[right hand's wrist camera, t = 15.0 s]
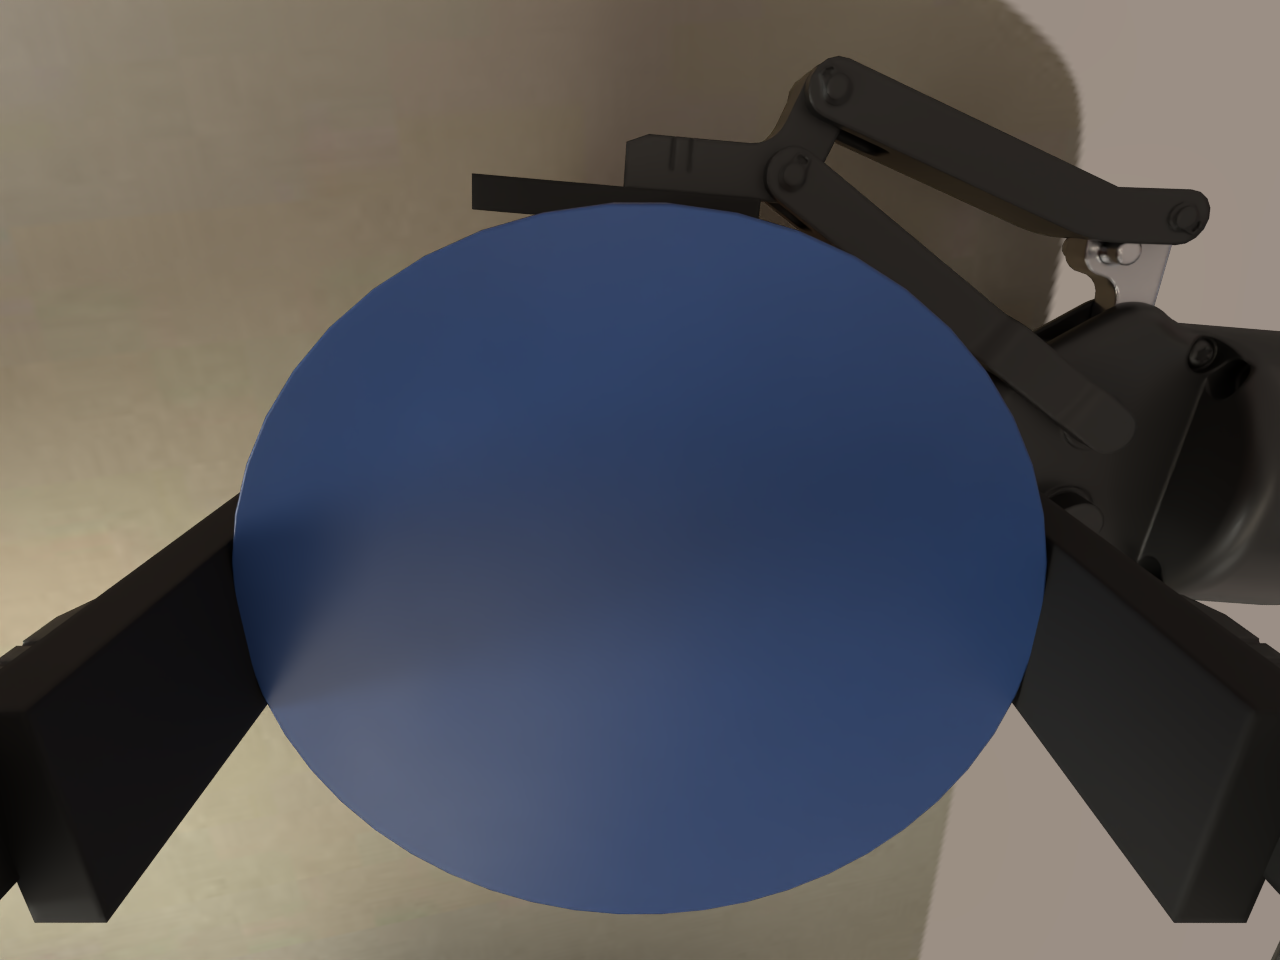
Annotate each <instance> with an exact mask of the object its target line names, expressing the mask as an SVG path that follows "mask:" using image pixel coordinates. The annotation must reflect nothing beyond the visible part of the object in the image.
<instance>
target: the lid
mask: <svg viewBox="0 0 1280 960" xmlns="http://www.w3.org/2000/svg"><path fill="white" fill-rule="evenodd" d="M232 569H233V581H234V588H235V593H236V598H237V603H238V607H239V611H240V615H241V620H242V624H243V628H244V632H245V636H246V641H247V645H248V649H249V653H250V658H251V662H252V666H253V669H254V673H255V676H256V679H257V682H258V684H259V687H260V689H261V692H262V694H263V696H264V698H265V700H266V702H267V703H268V705H269V707H270V709H271V711H272V712H273V714H274V716H275V718H276V720H277V721H278V723H279V725H280V727H281V729H282V730H283V732H284V734H285V735H286V737H287V738H288V739H289V741H290V742H291V743H292V745H293V746H294V747H295V749H296V750H297V751H298V753H299V754H300V756H301V757H302V758H303V760H304V761H305V762H306V764H307V765H308V766H309V768H310V769H311V770H312V771H313V772H314V773H315V774H316V775H317V777H318V778H319V779H320V780H321V781H322V782H323V783H324V784H325V785H326V786H327V787H328V788H329V789H330V790H331V791H332V792H333V793H334V794H335V795H336V796H337V798H338V799H339V800H340V801H341V802H342V803H344V804H345V805H346V806H347V807H348V808H350V809H351V810H352V811H353V812H354V813H356V814H357V815H358V816H359V817H360V818H362V819H363V820H364V821H365V822H366V823H368V824H369V825H370V826H371V827H372V828H374V829H375V830H376V831H378V832H379V833H381V834H382V835H384V836H385V837H387V838H388V839H390V840H391V841H393V842H394V843H396V844H397V845H399V846H400V847H402V848H403V849H405V850H406V851H408V852H409V853H411V854H413V855H415V856H417V857H419V858H421V859H422V860H424V861H426V862H428V863H430V864H432V865H434V866H436V867H438V868H440V869H442V870H444V871H445V872H447V873H449V874H452V875H454V876H457V877H459V878H462V879H464V880H467V881H469V882H472V883H474V884H477V885H479V886H482V887H484V888H487V889H489V890H492V891H496V892H499V893H503V894H506V895H510V896H513V897H517V898H520V899H523V900H527V901H530V902H535V903H540V904H545V905H551V906H556V907H561V908H567V909H572V910H580V911H591V912H601V913H612V914H667V913H677V912H688V911H699V910H707V909H712V908H717V907H723V906H728V905H733V904H738V903H744V902H748V901H752V900H755V899H759V898H762V897H766V896H769V895H772V894H776V893H779V892H783V891H786V890H789V889H792V888H794V887H797V886H799V885H802V884H804V883H807V882H809V881H812V880H814V879H817V878H819V877H822V876H824V875H827V874H829V873H831V872H833V871H835V870H837V869H839V868H841V867H843V866H845V865H847V864H849V863H850V862H852V861H854V860H856V859H858V858H860V857H862V856H864V855H866V854H868V853H869V852H871V851H872V850H874V849H875V848H877V847H878V846H880V845H881V844H883V843H884V842H886V841H887V840H889V839H890V838H892V837H893V836H895V835H896V834H898V833H899V832H901V831H902V830H904V829H905V828H906V827H907V826H909V825H910V824H911V823H912V822H913V821H915V820H916V819H917V818H918V817H919V816H921V815H922V814H923V813H924V812H925V811H927V810H928V809H929V808H930V807H931V806H933V805H934V804H935V803H936V802H937V801H938V800H939V799H940V798H941V797H942V796H943V795H944V794H945V793H946V792H947V791H948V790H949V789H950V788H951V787H952V786H953V785H954V784H955V783H956V781H957V780H958V779H959V778H960V777H961V776H962V775H963V774H964V773H965V772H966V771H967V770H968V769H969V767H970V766H971V765H972V763H973V762H974V761H975V759H976V758H977V757H978V755H979V754H980V752H981V751H982V750H983V748H984V747H985V746H986V744H987V743H988V742H989V740H990V739H991V738H992V736H993V735H994V733H995V732H996V730H997V728H998V726H999V724H1000V723H1001V721H1002V719H1003V717H1004V716H1005V714H1006V712H1007V710H1008V708H1009V707H1010V705H1011V703H1012V701H1013V700H1014V698H1015V696H1016V694H1017V691H1018V689H1019V686H1020V684H1021V681H1022V679H1023V676H1024V673H1025V671H1026V668H1027V665H1028V662H1029V658H1030V654H1031V650H1032V646H1033V642H1034V637H1035V633H1036V629H1037V625H1038V620H1039V616H1040V612H1041V608H1042V603H1043V598H1044V592H1045V581H1046V569H1047V553H1046V539H1045V524H1044V512H1043V508H1042V504H1041V499H1040V495H1039V490H1038V486H1037V482H1036V477H1035V473H1034V468H1033V464H1032V462H1031V459H1030V457H1029V454H1028V452H1027V449H1026V447H1025V444H1024V442H1023V439H1022V437H1021V434H1020V432H1019V429H1018V427H1017V424H1016V422H1015V419H1014V417H1013V415H1012V413H1011V412H1010V410H1009V408H1008V407H1007V405H1006V403H1005V402H1004V400H1003V398H1002V397H1001V395H1000V393H999V392H998V390H997V388H996V387H995V385H994V383H993V382H992V380H991V378H990V377H989V375H988V373H987V372H986V370H985V369H984V368H983V367H982V365H981V364H980V363H979V362H978V361H977V359H976V358H975V357H974V356H973V355H972V353H971V352H970V351H969V350H968V349H967V347H966V346H965V345H964V344H963V343H962V341H961V340H960V339H959V338H958V337H957V335H956V334H955V333H954V332H953V331H952V329H951V328H950V327H949V326H948V325H946V324H945V323H944V322H943V321H942V320H941V319H940V318H939V317H937V316H936V315H935V314H934V313H933V312H932V311H931V310H929V309H928V308H927V307H926V306H925V305H924V304H923V303H922V302H920V301H919V300H918V299H917V298H916V297H915V296H914V295H912V294H911V293H910V292H909V291H908V290H907V289H905V288H904V287H902V286H901V285H899V284H898V283H896V282H894V281H893V280H891V279H890V278H888V277H887V276H885V275H884V274H882V273H881V272H879V271H877V270H876V269H874V268H873V267H871V266H870V265H868V264H867V263H865V262H864V261H862V260H860V259H859V258H857V257H856V256H854V255H851V254H849V253H847V252H845V251H843V250H840V249H838V248H836V247H834V246H832V245H829V244H827V243H825V242H823V241H821V240H818V239H816V238H814V237H812V236H810V235H807V234H805V233H803V232H801V231H798V230H795V229H792V228H788V227H785V226H781V225H778V224H774V223H771V222H768V221H764V220H761V219H757V218H754V217H750V216H747V215H743V214H740V213H736V212H729V211H722V210H715V209H708V208H701V207H694V206H687V205H680V204H673V203H644V202H614V203H607V204H599V205H592V206H585V207H578V208H571V209H564V210H557V211H550V212H543V213H540V214H536V215H533V216H529V217H526V218H522V219H519V220H515V221H512V222H508V223H505V224H501V225H498V226H494V227H491V228H488V229H484V230H481V231H479V232H476V233H474V234H472V235H470V236H468V237H465V238H463V239H461V240H459V241H457V242H454V243H452V244H450V245H448V246H445V247H443V248H441V249H439V250H437V251H434V252H432V253H430V254H428V255H426V256H424V257H422V258H421V259H419V260H417V261H416V262H414V263H413V264H411V265H410V266H408V267H407V268H405V269H403V270H402V271H400V272H399V273H397V274H396V275H394V276H393V277H391V278H389V279H388V280H386V281H385V282H383V283H382V284H380V285H378V286H377V287H375V288H374V289H373V290H371V291H370V292H369V293H368V294H367V295H366V296H365V297H363V298H362V299H361V300H360V301H359V302H358V303H357V304H355V305H354V306H353V307H352V308H351V309H350V310H349V311H348V312H346V313H345V314H344V315H343V316H342V317H341V318H340V319H338V320H337V321H336V322H335V323H334V324H333V325H332V326H330V327H329V328H328V330H327V331H326V332H325V333H324V334H323V336H322V337H321V338H320V339H319V340H318V342H317V343H316V344H315V345H314V346H313V348H312V349H311V350H310V351H309V352H308V354H307V355H306V356H305V357H304V358H303V360H302V361H301V362H300V363H299V364H298V366H297V367H296V368H295V369H294V370H293V372H292V374H291V375H290V377H289V379H288V380H287V382H286V384H285V385H284V387H283V389H282V390H281V392H280V394H279V395H278V397H277V399H276V400H275V402H274V404H273V405H272V407H271V409H270V410H269V412H268V414H267V415H266V417H265V420H264V422H263V425H262V427H261V430H260V432H259V435H258V437H257V439H256V442H255V444H254V447H253V449H252V452H251V454H250V457H249V459H248V462H247V464H246V469H245V473H244V477H243V482H242V486H241V491H240V495H239V499H238V504H237V508H236V512H235V524H234V538H233V553H232Z"/></svg>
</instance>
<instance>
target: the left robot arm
mask: <svg viewBox="0 0 1280 960" xmlns="http://www.w3.org/2000/svg"><path fill="white" fill-rule="evenodd" d="M834 142H835V143H837V144H839V145H841V146H844V147H846V148H848V149H850V150H852V151H855V152H857V153H859V154H861V155H863V156H865V157H868V158H870V159H872V160H874V161H876V162H879V163H881V164H883V165H885V166H887V167H889V168H892V169H894V170H896V171H898V172H900V173H902V174H905V175H907V176H909V177H911V178H913V179H916V180H918V181H920V182H922V183H924V184H926V185H929V186H931V187H933V188H935V189H937V190H940V191H942V192H944V193H946V194H948V195H950V196H953V197H955V198H957V199H959V200H961V201H963V202H966V203H968V204H970V205H972V206H974V207H977V208H979V209H981V210H983V211H985V212H987V213H990V214H992V215H994V216H996V217H998V218H1000V219H1003V220H1005V221H1007V222H1009V223H1011V224H1014V225H1016V226H1018V227H1020V228H1023V229H1026V230H1028V231H1031V232H1034V233H1038V234H1042V235H1047V236H1051V237H1061V238H1067V239H1066V240H1065V241H1064V243H1063V245H1062V252H1063V254H1064V255H1065V257H1066V261H1067V263H1068V265H1069V266H1070V267H1071V268H1072V269H1073V270H1075V271H1078V272H1081V273H1084V274H1086V275H1088V276H1089V277H1090V278H1091V279H1092V281H1093V282H1094V284H1095V290H1096V292H1095V299H1093V300H1090V301H1087V302H1085V303H1083V304H1081V305H1079V306H1078V307H1076V308H1074V309H1072V310H1070V311H1068V312H1067V313H1065V314H1063V315H1061V316H1059V317H1057V318H1056V319H1054V320H1052V321H1050V322H1048V323H1046V324H1045V325H1043V326H1041V327H1039V328H1037V329H1035V330H1034V331H1031V330H1030V329H1029V328H1027V327H1026V326H1024V325H1023V324H1021V323H1020V322H1018V321H1017V320H1015V319H1013V318H1011V317H1010V316H1008V315H1007V314H1005V313H1004V312H1002V311H1001V310H1000V309H999V308H997V307H996V306H995V305H994V304H993V303H991V302H990V301H989V300H988V299H987V298H985V297H984V296H983V295H982V294H981V293H979V292H978V291H977V290H976V289H975V288H974V287H972V286H971V285H970V284H969V283H968V282H966V281H965V280H964V279H963V278H962V277H960V276H959V275H958V274H957V273H956V272H954V271H953V270H952V269H951V268H950V267H948V266H947V265H946V264H945V263H944V262H942V261H941V260H940V259H939V258H938V257H936V256H935V255H934V254H933V253H932V252H930V251H929V250H928V249H927V248H926V247H924V246H923V245H922V244H921V243H920V242H918V241H917V240H916V239H915V238H914V237H912V236H911V235H910V234H909V233H908V232H906V231H905V230H904V229H903V228H902V227H900V226H899V225H898V224H897V223H896V222H895V221H893V220H892V219H891V218H890V217H889V216H887V215H886V214H885V213H884V212H883V211H881V210H880V209H879V208H878V207H877V206H875V205H874V204H873V203H872V202H871V201H869V200H868V199H867V198H866V197H865V196H863V195H862V194H861V193H860V192H859V191H857V190H856V189H855V188H854V187H853V186H851V185H850V184H849V183H848V182H847V181H845V180H844V179H843V178H842V177H841V176H839V175H838V174H837V173H836V172H835V171H833V170H832V169H831V168H830V167H829V166H827V165H826V164H825V163H824V162H825V160H826V158H827V156H828V154H829V152H830V150H831V148H832V146H833V144H834ZM614 202H644V203H673V204H680V205H687V206H694V207H701V208H708V209H715V210H722V211H729V212H736V213H740V214H743V215H747V216H750V217H754V218H757V219H758V218H759V210H760V203H761V202H765V203H766V204H767V205H769V206H770V207H771V208H772V209H774V210H775V211H776V212H777V213H778V214H780V215H781V216H782V217H783V218H785V219H786V220H787V221H788V222H790V223H791V224H792V225H793V226H795V227H796V228H797V229H798V230H800V231H801V232H803V233H805V234H807V235H810V236H812V237H814V238H816V239H818V240H821V241H823V242H825V243H827V244H829V245H832V246H834V247H836V248H838V249H840V250H843V251H845V252H847V253H849V254H851V255H854V256H856V257H857V258H859V259H860V260H862V261H864V262H865V263H867V264H868V265H870V266H871V267H873V268H874V269H876V270H877V271H879V272H881V273H882V274H884V275H885V276H887V277H888V278H890V279H891V280H893V281H894V282H896V283H898V284H899V285H901V286H902V287H904V288H905V289H907V290H908V291H909V292H910V293H911V294H912V295H914V296H915V297H916V298H917V299H918V300H919V301H920V302H922V303H923V304H924V305H925V306H926V307H927V308H928V309H929V310H931V311H932V312H933V313H934V314H935V315H936V316H937V317H939V318H940V319H941V320H942V321H943V322H944V323H945V324H946V325H948V326H949V327H950V328H951V329H952V331H953V332H954V333H955V334H956V335H957V337H958V338H959V339H960V340H961V341H962V343H963V344H964V345H965V346H966V347H967V349H968V350H969V351H970V352H971V353H972V355H973V356H974V357H975V358H976V359H977V361H978V362H979V363H980V364H981V365H982V367H983V368H984V369H985V370H986V372H987V373H988V375H989V377H990V378H991V380H992V382H993V383H994V385H995V387H996V388H997V390H998V392H999V393H1000V395H1001V397H1002V398H1003V400H1004V402H1005V403H1006V405H1007V407H1008V408H1009V410H1010V412H1011V413H1012V415H1013V417H1014V419H1015V422H1016V424H1017V427H1018V429H1019V432H1020V434H1021V437H1022V439H1023V442H1024V444H1025V447H1026V449H1027V452H1028V454H1029V457H1030V459H1031V462H1032V464H1033V468H1034V473H1035V477H1036V482H1037V486H1038V490H1039V491H1040V492H1041V493H1042V494H1044V495H1045V496H1046V497H1048V498H1049V499H1050V500H1052V501H1053V502H1055V503H1056V504H1057V505H1059V506H1060V507H1061V508H1063V509H1064V510H1065V511H1067V512H1068V513H1070V514H1071V515H1072V516H1074V517H1075V518H1076V519H1078V520H1079V521H1080V522H1082V523H1083V524H1084V525H1086V526H1087V527H1089V528H1090V529H1091V530H1093V531H1094V532H1095V533H1097V534H1098V535H1099V536H1101V537H1102V538H1103V539H1105V540H1106V541H1108V542H1109V543H1110V544H1112V545H1113V546H1114V547H1116V548H1117V549H1118V550H1120V551H1121V552H1123V553H1124V554H1125V555H1127V556H1128V557H1129V558H1131V559H1132V560H1133V561H1135V562H1136V563H1137V564H1139V565H1140V566H1142V567H1143V568H1144V569H1146V570H1147V571H1148V572H1150V573H1151V574H1152V575H1154V576H1155V577H1156V578H1158V579H1159V580H1161V581H1162V582H1163V583H1165V584H1166V585H1167V586H1169V587H1170V588H1171V589H1173V590H1174V591H1175V592H1177V593H1178V594H1182V595H1185V596H1187V597H1189V598H1191V599H1193V600H1201V601H1215V602H1229V603H1243V604H1257V605H1280V331H1270V330H1258V329H1246V328H1234V327H1221V326H1209V325H1197V324H1185V323H1177V322H1176V321H1174V320H1172V319H1171V318H1170V317H1168V316H1167V315H1166V314H1165V313H1164V312H1163V311H1162V310H1160V309H1159V308H1157V307H1155V306H1154V305H1155V301H1156V298H1157V294H1158V291H1159V288H1160V284H1161V281H1162V277H1163V274H1164V270H1165V267H1166V263H1167V260H1168V256H1169V253H1170V249H1171V246H1172V245H1178V244H1185V243H1187V242H1189V241H1191V240H1192V239H1194V238H1196V237H1197V236H1198V235H1199V234H1200V233H1201V231H1202V230H1203V229H1204V228H1205V226H1206V224H1207V222H1208V220H1209V214H1210V205H1209V202H1208V199H1207V198H1206V197H1205V196H1204V195H1203V194H1202V193H1201V192H1199V191H1195V190H1191V189H1161V188H1132V187H1117V186H1115V185H1113V184H1111V183H1109V182H1107V181H1105V180H1103V179H1101V178H1098V177H1096V176H1094V175H1092V174H1090V173H1088V172H1086V171H1084V170H1082V169H1080V168H1078V167H1075V166H1073V165H1071V164H1069V163H1067V162H1065V161H1063V160H1061V159H1059V158H1057V157H1055V156H1052V155H1050V154H1048V153H1046V152H1044V151H1042V150H1040V149H1038V148H1036V147H1034V146H1032V145H1029V144H1027V143H1025V142H1023V141H1021V140H1019V139H1017V138H1015V137H1013V136H1011V135H1009V134H1007V133H1004V132H1002V131H1000V130H998V129H996V128H994V127H992V126H990V125H988V124H986V123H984V122H981V121H979V120H977V119H975V118H973V117H971V116H969V115H967V114H965V113H963V112H961V111H958V110H956V109H954V108H952V107H950V106H948V105H946V104H944V103H942V102H940V101H938V100H935V99H933V98H931V97H929V96H927V95H925V94H923V93H921V92H919V91H917V90H915V89H912V88H910V87H908V86H906V85H904V84H902V83H900V82H898V81H896V80H894V79H892V78H890V77H887V76H885V75H883V74H881V73H879V72H877V71H875V70H873V69H871V68H869V67H867V66H864V65H862V64H860V63H858V62H856V61H854V60H852V59H850V58H846V57H841V56H837V57H832V58H828V59H827V60H825V61H824V62H823V63H821V64H819V65H818V66H816V67H815V68H814V69H812V70H811V71H809V72H808V73H807V74H805V75H804V76H803V77H802V78H801V79H800V80H798V81H797V82H795V84H794V86H793V87H792V89H791V90H790V92H789V96H788V101H787V104H786V106H785V108H784V110H783V112H782V114H781V116H780V118H779V121H778V123H777V125H776V127H775V128H774V130H773V132H772V133H771V135H770V136H769V137H768V138H767V139H766V140H764V141H763V142H760V143H742V142H731V141H720V140H709V139H698V138H687V137H674V136H665V135H653V134H648V135H645V136H642V137H639V138H636V139H633V140H630V141H628V142H627V143H626V157H625V172H624V187H621V186H610V185H598V184H587V183H575V182H564V181H553V180H541V179H530V178H518V177H507V176H496V175H484V174H473V173H472V209H475V210H487V211H498V212H510V213H521V214H533V215H536V214H540V213H543V212H550V211H557V210H564V209H571V208H578V207H585V206H592V205H599V204H607V203H614Z"/></svg>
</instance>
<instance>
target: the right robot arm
mask: <svg viewBox="0 0 1280 960" xmlns="http://www.w3.org/2000/svg"><path fill="white" fill-rule="evenodd" d="M239 495H240V493H238V494H237V495H236V496H234V497H233V498H232V499H230V500H229V501H228V502H226V503H225V504H224V505H222V506H221V507H219V508H218V509H217V510H215V511H214V512H213V513H211V514H210V515H209V516H207V517H206V518H205V519H203V520H202V521H200V522H199V523H198V524H196V525H195V526H194V527H192V528H191V529H190V530H188V531H187V532H185V533H184V534H183V535H181V536H180V537H179V538H177V539H176V540H175V541H173V542H172V543H171V544H169V545H168V546H166V547H165V548H164V549H162V550H161V551H160V552H158V553H157V554H156V555H154V556H153V557H152V558H150V559H149V560H147V561H146V562H145V563H143V564H142V565H141V566H139V567H138V568H137V569H135V570H134V571H133V572H131V573H130V574H128V575H127V576H126V577H124V578H123V579H122V580H120V581H119V582H118V583H116V584H115V585H114V586H112V587H111V588H109V589H108V590H107V591H105V592H104V593H103V594H101V595H100V596H99V597H97V598H96V599H94V600H92V601H90V602H88V603H86V604H83V605H81V606H79V607H77V608H75V609H73V610H71V611H69V612H66V613H64V614H62V615H60V616H58V617H56V618H55V619H53V620H52V621H50V622H49V623H48V624H46V625H45V626H43V627H42V628H41V629H39V630H38V631H37V632H35V633H34V634H32V635H31V636H30V637H28V638H27V639H25V640H24V641H23V645H22V646H16V647H14V648H13V649H11V650H10V651H9V652H7V653H6V654H5V655H3V656H2V657H0V900H1V898H2V897H3V896H4V895H5V894H6V893H7V892H8V891H9V890H10V889H11V888H12V886H13V885H14V884H15V883H16V882H17V883H18V886H19V888H20V890H21V892H22V895H23V897H24V899H25V902H26V904H27V906H28V908H29V911H30V913H31V915H32V918H33V920H34V922H35V923H107V922H108V920H109V919H110V918H111V916H112V915H113V914H114V912H115V911H116V909H117V908H118V907H119V905H120V904H121V903H122V901H123V900H124V899H125V897H126V896H127V895H128V893H129V892H130V890H131V889H132V888H133V886H134V885H135V884H136V882H137V881H138V880H139V878H140V877H141V875H142V874H143V873H144V871H145V870H146V869H147V867H148V866H149V865H150V863H151V862H152V861H153V859H154V858H155V856H156V855H157V854H158V852H159V851H160V850H161V848H162V847H163V846H164V844H165V843H166V841H167V840H168V839H169V837H170V836H171V835H172V833H173V832H174V831H175V829H176V828H177V827H178V825H179V824H180V822H181V821H182V820H183V818H184V817H185V816H186V814H187V813H188V812H189V810H190V809H191V808H192V806H193V805H194V803H195V802H196V801H197V799H198V798H199V797H200V795H201V794H202V793H203V791H204V790H205V788H206V787H207V786H208V784H209V783H210V782H211V780H212V779H213V778H214V776H215V775H216V774H217V772H218V771H219V769H220V768H221V767H222V765H223V764H224V763H225V761H226V760H227V759H228V757H229V756H230V754H231V753H232V752H233V750H234V749H235V748H236V746H237V745H238V744H239V742H240V741H241V740H242V738H243V737H244V735H245V734H246V733H247V731H248V730H249V729H250V727H251V726H252V725H253V723H254V722H255V720H256V719H257V718H258V716H259V715H260V714H261V712H262V711H263V710H264V708H265V707H266V706H267V704H268V703H267V702H266V700H265V698H264V696H263V694H262V692H261V689H260V687H259V684H258V682H257V679H256V676H255V673H254V669H253V666H252V662H251V658H250V653H249V649H248V645H247V641H246V636H245V632H244V628H243V624H242V620H241V615H240V611H239V607H238V603H237V598H236V593H235V588H234V581H233V569H232V553H233V538H234V524H235V512H236V508H237V504H238V499H239ZM1039 495H1040V499H1041V504H1042V508H1043V512H1044V524H1045V539H1046V553H1047V569H1046V581H1045V592H1044V598H1043V603H1042V608H1041V612H1040V616H1039V620H1038V625H1037V629H1036V633H1035V637H1034V642H1033V646H1032V650H1031V654H1030V658H1029V662H1028V665H1027V668H1026V671H1025V673H1024V676H1023V679H1022V681H1021V684H1020V686H1019V689H1018V691H1017V694H1016V696H1015V698H1014V700H1013V701H1012V703H1013V704H1014V706H1015V707H1016V709H1017V710H1018V711H1019V712H1020V714H1021V715H1022V717H1023V718H1024V719H1025V721H1026V722H1027V724H1028V725H1029V726H1030V727H1031V729H1032V730H1033V732H1034V733H1035V734H1036V736H1037V737H1038V738H1039V740H1040V741H1041V743H1042V744H1043V745H1044V747H1045V748H1046V749H1047V751H1048V752H1049V753H1050V755H1051V756H1052V758H1053V759H1054V760H1055V762H1056V763H1057V764H1058V766H1059V767H1060V768H1061V770H1062V771H1063V772H1064V774H1065V775H1066V776H1067V778H1068V779H1069V781H1070V782H1071V783H1072V785H1073V786H1074V787H1075V789H1076V790H1077V792H1078V793H1079V794H1080V795H1081V797H1082V798H1083V800H1084V801H1085V802H1086V804H1087V805H1088V806H1089V808H1090V809H1091V811H1092V812H1093V813H1094V815H1095V816H1096V817H1097V819H1098V820H1099V821H1100V823H1101V824H1102V825H1103V827H1104V828H1105V829H1106V831H1107V832H1108V834H1109V835H1110V836H1111V838H1112V839H1113V840H1114V842H1115V843H1116V845H1117V846H1118V847H1119V849H1120V850H1121V851H1122V853H1123V854H1124V855H1125V857H1126V858H1127V859H1128V861H1129V862H1130V864H1131V865H1132V866H1133V868H1134V869H1135V870H1136V872H1137V873H1138V874H1139V876H1140V877H1141V879H1142V880H1143V881H1144V883H1145V884H1146V885H1147V887H1148V888H1149V889H1150V891H1151V892H1152V893H1153V895H1154V896H1155V898H1156V899H1157V900H1158V902H1159V903H1160V904H1161V906H1162V907H1163V908H1164V910H1165V911H1166V913H1167V914H1168V915H1169V916H1170V918H1171V919H1172V921H1173V922H1174V923H1246V922H1247V920H1248V918H1249V915H1250V913H1251V911H1252V909H1253V906H1254V904H1255V902H1256V899H1257V897H1258V895H1259V892H1260V890H1261V888H1262V886H1263V883H1264V881H1265V879H1266V880H1267V881H1268V882H1269V883H1270V884H1271V886H1272V887H1273V888H1274V889H1275V890H1276V891H1277V892H1278V893H1279V894H1280V653H1279V652H1277V651H1276V650H1274V649H1273V648H1272V647H1270V646H1269V645H1267V644H1266V643H1259V638H1258V637H1256V636H1255V635H1253V634H1252V633H1251V632H1249V631H1248V630H1246V629H1245V628H1243V627H1242V626H1241V625H1239V624H1238V623H1236V622H1235V621H1234V620H1232V619H1231V618H1230V617H1228V616H1227V615H1225V614H1223V613H1221V612H1219V611H1217V610H1214V609H1212V608H1210V607H1208V606H1206V605H1204V604H1202V603H1200V602H1197V601H1195V600H1193V599H1191V598H1189V597H1187V596H1185V595H1182V594H1178V593H1177V592H1175V591H1174V590H1173V589H1171V588H1170V587H1169V586H1167V585H1166V584H1165V583H1163V582H1162V581H1161V580H1159V579H1158V578H1156V577H1155V576H1154V575H1152V574H1151V573H1150V572H1148V571H1147V570H1146V569H1144V568H1143V567H1142V566H1140V565H1139V564H1137V563H1136V562H1135V561H1133V560H1132V559H1131V558H1129V557H1128V556H1127V555H1125V554H1124V553H1123V552H1121V551H1120V550H1118V549H1117V548H1116V547H1114V546H1113V545H1112V544H1110V543H1109V542H1108V541H1106V540H1105V539H1103V538H1102V537H1101V536H1099V535H1098V534H1097V533H1095V532H1094V531H1093V530H1091V529H1090V528H1089V527H1087V526H1086V525H1084V524H1083V523H1082V522H1080V521H1079V520H1078V519H1076V518H1075V517H1074V516H1072V515H1071V514H1070V513H1068V512H1067V511H1065V510H1064V509H1063V508H1061V507H1060V506H1059V505H1057V504H1056V503H1055V502H1053V501H1052V500H1050V499H1049V498H1048V497H1046V496H1045V495H1044V494H1042V493H1041V492H1040V491H1039ZM1271 960H1280V942H1279V944H1278V946H1277V948H1276V950H1275V952H1274V955H1273V957H1272V959H1271Z"/></svg>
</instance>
